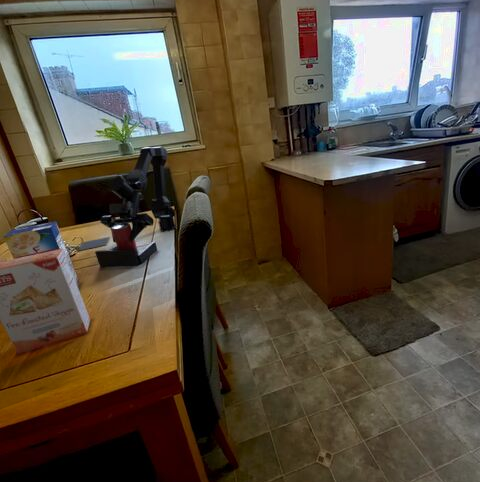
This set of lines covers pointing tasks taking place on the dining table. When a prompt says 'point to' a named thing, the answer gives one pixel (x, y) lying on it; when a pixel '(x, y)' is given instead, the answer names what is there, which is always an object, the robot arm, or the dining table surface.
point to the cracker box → (40, 301)
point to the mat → (93, 244)
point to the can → (123, 236)
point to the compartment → (124, 256)
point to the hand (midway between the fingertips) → (122, 241)
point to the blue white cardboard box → (37, 242)
